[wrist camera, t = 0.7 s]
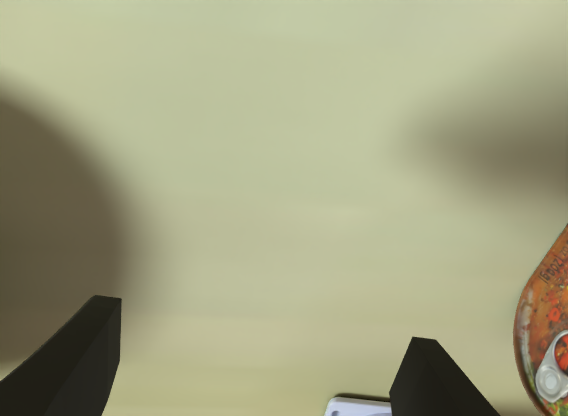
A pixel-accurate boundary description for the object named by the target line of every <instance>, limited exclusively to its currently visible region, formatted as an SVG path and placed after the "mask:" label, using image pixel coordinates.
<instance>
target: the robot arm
mask: <svg viewBox="0 0 568 416" xmlns="http://www.w3.org/2000/svg"><path fill="white" fill-rule="evenodd" d="M121 302H122V299H121V298H113V297H106V296H98V295H95V296H93V297H92V298H90V299H89V300H88V301H87V302H86V303H85V304H84V305H83V307H82V308H81V309H80V310H79V311H78V312H77V313H76V314H75V315H74V316H73V317H72V318H71V319H70V320H69V321H68V322H67V323H66V324H65V325H64V326H62V327H61V328H60V329H59V330H58V331H57V332H56V333H55V334H54V335H53V336H52V337H51V338H50V339H49V340H48V341H46V342H45V343H44V344H43V345H42V346H41V347H40V348H39V349H38V350H37V351H35V352H34V353H33V354H32V355H31V356H30V357H29V358H28V359H27V360H25V361H24V362H23V363H22V364H21V365H20V366H18V367H17V368H16V369H15V370H13V371H12V372H11V373H10V374H9V375H7V376H6V377H5V378H4V379H3V380H1V381H0V416H101V415H102V413H103V411H104V408H105V406H106V403H107V401H108V398H109V394H110V391H111V388H112V385H113V382H114V378H115V375H116V371H117V368H118V365H119V361H120V334H121ZM389 395H390V403H389V402H380V401H371V400H362V399H353V398H343V397H335V398H332V399H331V400H330V401H329V403H328V406H327V409H326V412H325V415H324V416H500V415H499V414H498V412H497V411H496V410H495V409H494V408H493V407H492V406H491V404H490V403H489V402H488V401H487V400H486V399H485V397H484V396H483V395H482V394H481V393H480V392H479V390H478V389H477V388H476V387H475V386H474V384H473V383H472V382H471V381H470V380H469V378H468V377H467V376H466V375H465V374H464V372H463V371H462V370H461V369H460V368H459V366H458V365H457V364H456V363H455V362H454V360H453V359H452V358H451V357H450V356H449V354H448V353H447V352H446V351H445V350H444V348H443V347H442V346H441V345H440V344H439V343H438V342H437V340H435V339H427V338H419V337H412V339H411V342H410V344H409V346H408V349H407V351H406V354H405V356H404V358H403V361H402V363H401V365H400V368H399V370H398V373H397V375H396V377H395V380H394V382H393V384H392V387H391V389H390V392H389Z"/></svg>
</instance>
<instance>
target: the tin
mask: <svg viewBox="0 0 568 416" xmlns="http://www.w3.org/2000/svg"><path fill="white" fill-rule="evenodd" d="M513 345H514V353H515V360H516V364H517V368H518V371H519V375H520V378H521V381H522V384H523V386H524V388H525V390H526V392H527V394H528V396H529V398H530V399H531V401H532V402H533V404H534V406H535V407H536V408H537V410H538V411H539V412H540V413H541V414H542V416H568V224H567V226H566V227H565V229H564V230H563V232H562V233H561V235H560V236H559V237H558V239H557V240H556V242H555V243H554V244H553V246H552V247H551V249H550V250H549V252H548V253H547V254H546V256H545V257H544V259H543V260H542V262H541V263H540V264H539V266H538V267H537V269H536V270H535V272H534V273H533V275H532V276H531V278H530V279H529V281H528V282H527V284H526V286H525V288H524V290H523V292H522V294H521V297H520V300H519V303H518V306H517V310H516V315H515V320H514V329H513Z"/></svg>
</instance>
